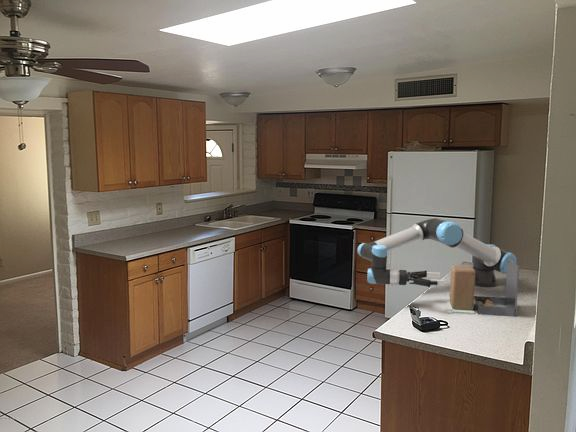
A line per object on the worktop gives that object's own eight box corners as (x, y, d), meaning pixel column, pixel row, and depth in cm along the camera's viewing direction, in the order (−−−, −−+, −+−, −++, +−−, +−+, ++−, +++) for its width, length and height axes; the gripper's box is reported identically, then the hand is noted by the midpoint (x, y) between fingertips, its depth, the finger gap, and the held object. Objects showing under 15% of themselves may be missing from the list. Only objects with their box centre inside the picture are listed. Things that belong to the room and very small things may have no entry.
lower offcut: (473, 305, 254) (473, 300, 254) (480, 305, 254) (480, 301, 253) (479, 314, 241) (479, 309, 241) (486, 314, 241) (487, 309, 240)
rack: (470, 303, 256) (473, 257, 252) (506, 304, 254) (509, 258, 250) (478, 314, 239) (481, 265, 236) (515, 316, 237) (519, 267, 233)
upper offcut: (484, 303, 252) (487, 299, 252) (491, 306, 251) (493, 302, 251) (483, 307, 242) (485, 302, 242) (489, 310, 241) (492, 306, 241)
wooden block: (473, 310, 243) (475, 270, 240) (452, 309, 245) (454, 269, 242) (469, 304, 253) (472, 265, 250) (449, 303, 254) (451, 264, 251)
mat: (447, 302, 257) (447, 301, 257) (468, 303, 256) (468, 302, 256) (453, 312, 242) (453, 311, 242) (474, 313, 240) (474, 312, 240)
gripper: (396, 277, 264) (438, 279, 261) (399, 291, 240) (445, 294, 236) (397, 264, 263) (438, 265, 260) (400, 276, 238) (446, 278, 235)
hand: (442, 279), depth 248 cm, fingers open, 13 cm apart
